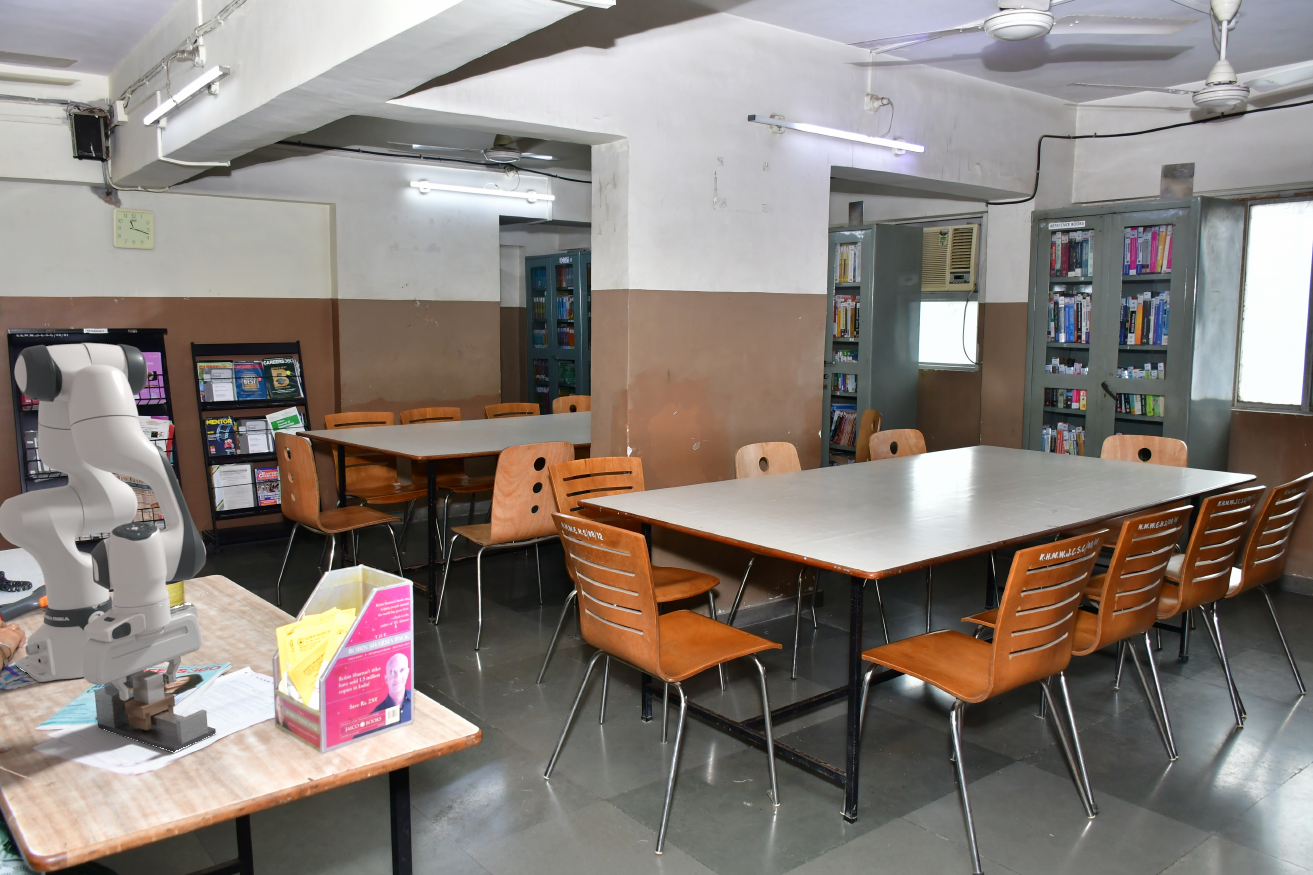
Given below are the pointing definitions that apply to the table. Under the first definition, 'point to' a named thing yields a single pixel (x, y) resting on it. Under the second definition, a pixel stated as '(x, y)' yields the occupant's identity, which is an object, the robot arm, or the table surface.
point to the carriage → (148, 699)
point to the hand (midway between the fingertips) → (148, 690)
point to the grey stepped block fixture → (165, 725)
